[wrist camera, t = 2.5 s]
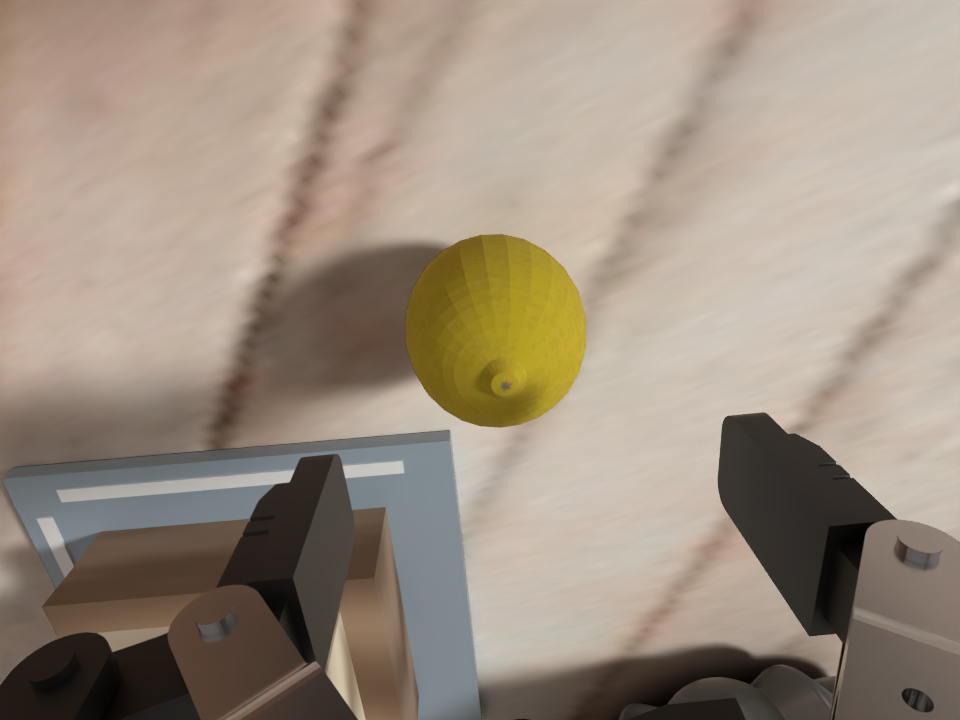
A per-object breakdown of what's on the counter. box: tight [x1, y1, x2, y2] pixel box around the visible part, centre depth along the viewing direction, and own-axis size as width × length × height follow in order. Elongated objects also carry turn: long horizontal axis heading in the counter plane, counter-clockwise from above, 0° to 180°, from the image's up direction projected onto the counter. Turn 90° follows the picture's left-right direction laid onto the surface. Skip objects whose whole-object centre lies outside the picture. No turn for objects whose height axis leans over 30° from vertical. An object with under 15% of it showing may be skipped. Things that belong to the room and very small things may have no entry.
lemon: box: [405, 234, 586, 427], centre depth 19 cm, size 6×6×8 cm
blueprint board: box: [1, 430, 482, 720], centre depth 28 cm, size 18×18×1 cm
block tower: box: [42, 507, 419, 720], centre depth 24 cm, size 12×12×9 cm
